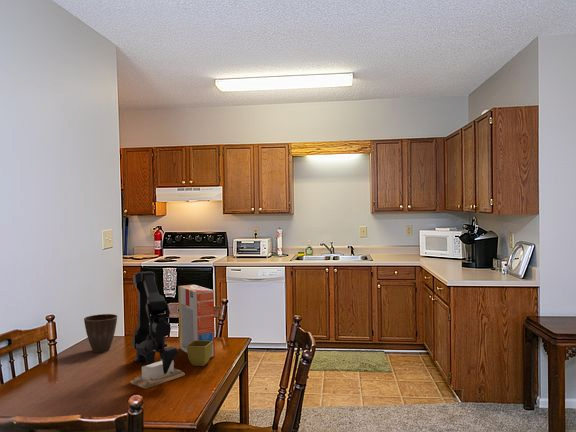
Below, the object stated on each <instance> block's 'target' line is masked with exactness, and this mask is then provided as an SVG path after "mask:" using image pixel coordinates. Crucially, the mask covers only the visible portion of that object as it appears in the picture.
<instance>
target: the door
mask: <svg viewBox="0 0 576 432" xmlns="http://www.w3.org/2000/svg"><path fill="white" fill-rule="evenodd" d="M174 365H175V362H174V360H173V361H172V363H171V365H170V367H169V369H168V371H167V373H166V374H164V372H163V363H162V360H159V361H156V362H154V363H153V364H149V365H148V364H147V365H143V366H141V375H142V379H143V380H146V381H150V380H151V378H153V377H158V378H159V377H162V376H164V375H167V374H170V372H171V371H174V369H175V367H174Z"/></svg>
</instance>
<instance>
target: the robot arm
mask: <svg viewBox="0 0 576 432" xmlns="http://www.w3.org/2000/svg"><path fill="white" fill-rule="evenodd" d="M132 281H133V284H134V287H135V288H136V289H137V292H138V293H137V294H138V325H137V326H136V328H135V329H134V334H133V337H132V341H131V342H132V343H131V344H132V348H133V350H135V358H134V359H133V360H132V361H133V362H136V363H139V364H144V363H146V364H147V365H149V364H153V363H155V357H156V353H159V360H160V361H162V363H163V372H164V374H166V373H167V371H168V369H169V367H170V365H171V363H172V361H174V359H175V358H176V357H177V356H179V349H178V348H177V347H173V346H169V347H168V343H166V337H168V335H170V333H171V329H172V328H171V325H170V324H169V323H168V322H167V321H166V319H167V318H170V315H171V311H170V308H169V304H168V303H167V301H166V300H165V297H164V296H163V295H161V294H160V293H159V292H160V291H159V290H158V286H157V283H156V274H155V272H154V271H139V272H135V274H133V275H132Z"/></svg>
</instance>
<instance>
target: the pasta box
mask: <svg viewBox="0 0 576 432" xmlns="http://www.w3.org/2000/svg"><path fill="white" fill-rule="evenodd" d="M177 288H178V290H177V291H178V323H179V324H178V329H179V334H178V335H179V349H180V350H181V351H183V352H185V353H186V354H188V353H187V345H189V344H190V343H192V342H193V341H195V340H197V341H213V344H212V353H211V357H210V359H211V358H215V357H216V348H215V347H216V344H215V343H216V340H215V335H216V333H215V296H214V294H215V291H214V289H210V288H207V287H203V286H200V285H197V284H187V285H178V286H177Z"/></svg>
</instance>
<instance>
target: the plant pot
mask: <svg viewBox="0 0 576 432" xmlns="http://www.w3.org/2000/svg"><path fill="white" fill-rule="evenodd" d="M83 322H84V328H85V332H86V335H87V341H88V342H89V345H90V347H91V350H92V352H93V353H105V352H108V351H109V350H110V349H111V346H112V344H113V339H114V337H115V332H116V328H117V323H118V314H113V313H102V314H94V315H90V316H86V317H84V318H83Z"/></svg>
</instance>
